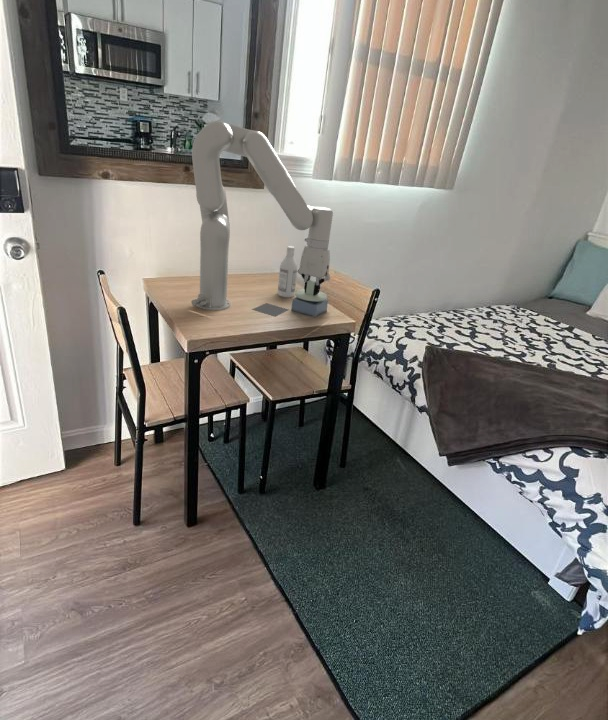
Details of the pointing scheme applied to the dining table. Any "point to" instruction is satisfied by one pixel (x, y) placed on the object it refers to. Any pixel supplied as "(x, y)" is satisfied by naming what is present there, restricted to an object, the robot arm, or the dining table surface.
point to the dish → (309, 307)
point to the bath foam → (288, 274)
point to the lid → (310, 293)
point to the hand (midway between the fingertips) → (311, 292)
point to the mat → (270, 309)
